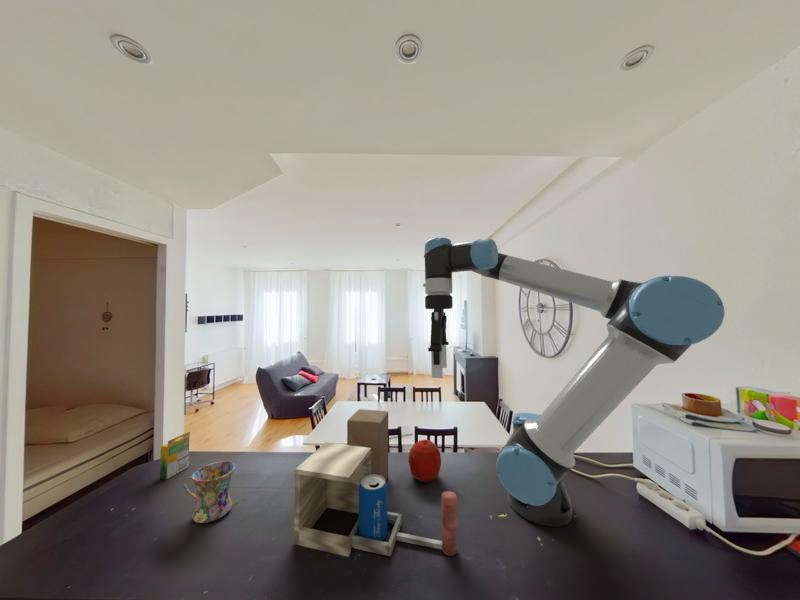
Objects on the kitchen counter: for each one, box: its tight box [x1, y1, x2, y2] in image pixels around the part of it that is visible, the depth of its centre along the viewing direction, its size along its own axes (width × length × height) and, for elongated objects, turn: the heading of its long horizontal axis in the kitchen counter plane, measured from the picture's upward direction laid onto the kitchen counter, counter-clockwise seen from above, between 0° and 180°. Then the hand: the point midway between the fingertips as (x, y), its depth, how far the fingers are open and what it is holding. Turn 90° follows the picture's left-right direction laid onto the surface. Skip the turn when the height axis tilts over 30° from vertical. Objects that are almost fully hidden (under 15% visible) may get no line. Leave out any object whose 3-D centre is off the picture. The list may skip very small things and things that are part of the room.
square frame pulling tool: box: [347, 490, 458, 557], centre depth 62 cm, size 23×10×11 cm, turn 76°
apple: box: [408, 439, 442, 483], centre depth 86 cm, size 10×10×12 cm
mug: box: [182, 460, 236, 524], centre depth 71 cm, size 12×9×11 cm
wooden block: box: [346, 408, 389, 483], centre depth 83 cm, size 10×10×20 cm
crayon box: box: [159, 431, 191, 480], centre depth 89 cm, size 7×3×12 cm, turn 169°
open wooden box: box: [293, 442, 371, 558], centre depth 66 cm, size 13×13×16 cm
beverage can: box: [358, 474, 388, 541], centre depth 64 cm, size 6×6×12 cm
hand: (439, 372), depth 76 cm, fingers open, 13 cm apart
